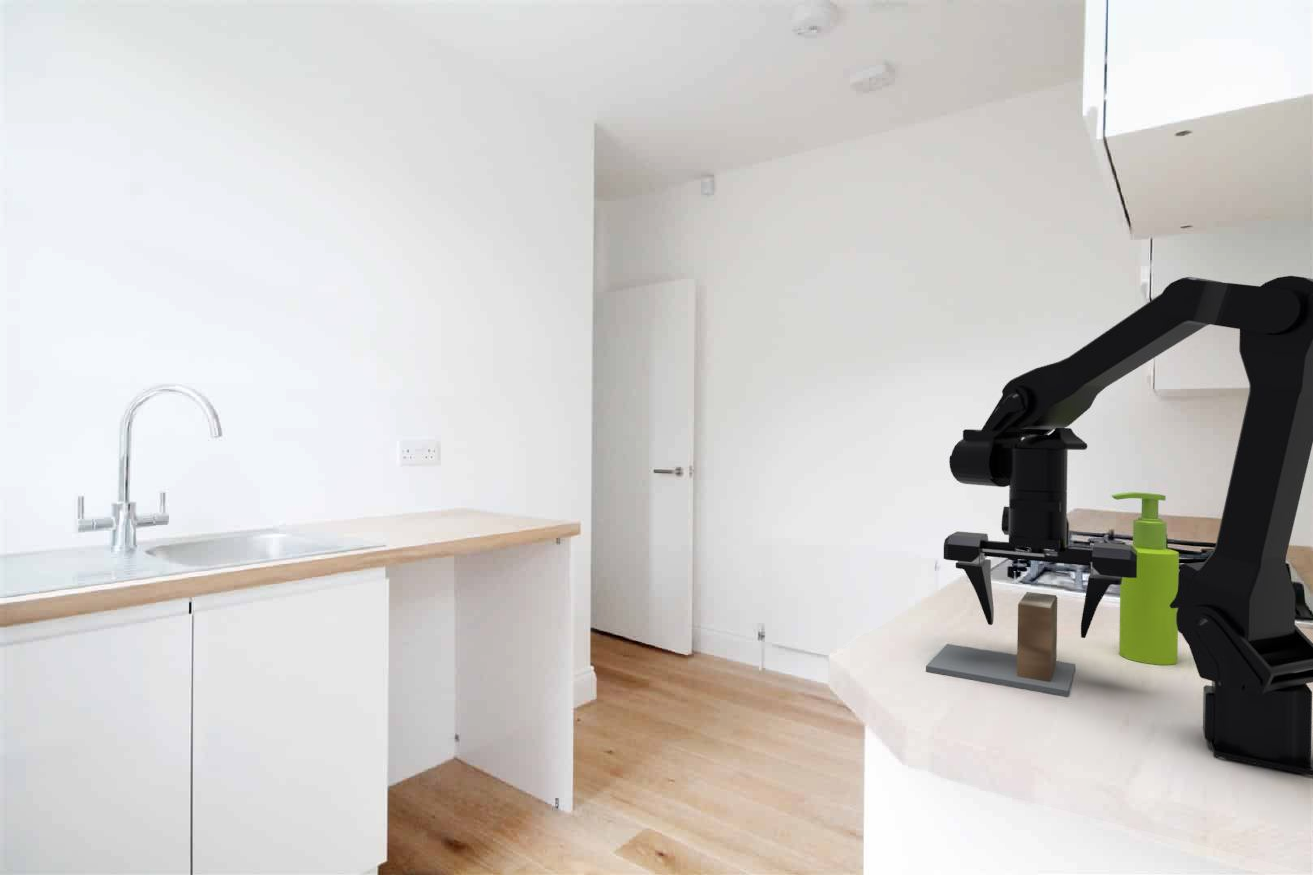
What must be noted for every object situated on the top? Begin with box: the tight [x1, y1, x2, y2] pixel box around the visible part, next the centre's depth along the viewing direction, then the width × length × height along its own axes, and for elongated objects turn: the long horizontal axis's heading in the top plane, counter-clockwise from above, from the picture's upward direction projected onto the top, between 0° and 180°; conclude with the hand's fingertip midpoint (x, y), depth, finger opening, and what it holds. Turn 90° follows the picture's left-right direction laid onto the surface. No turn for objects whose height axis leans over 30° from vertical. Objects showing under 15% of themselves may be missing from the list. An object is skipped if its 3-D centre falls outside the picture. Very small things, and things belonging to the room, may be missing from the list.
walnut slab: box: [1016, 591, 1058, 682], centre depth 82 cm, size 3×7×8 cm, turn 147°
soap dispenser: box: [1110, 491, 1180, 666], centre depth 90 cm, size 6×7×20 cm
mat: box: [925, 643, 1076, 698], centre depth 84 cm, size 14×11×1 cm
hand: (1035, 630), depth 82 cm, fingers open, 9 cm apart
